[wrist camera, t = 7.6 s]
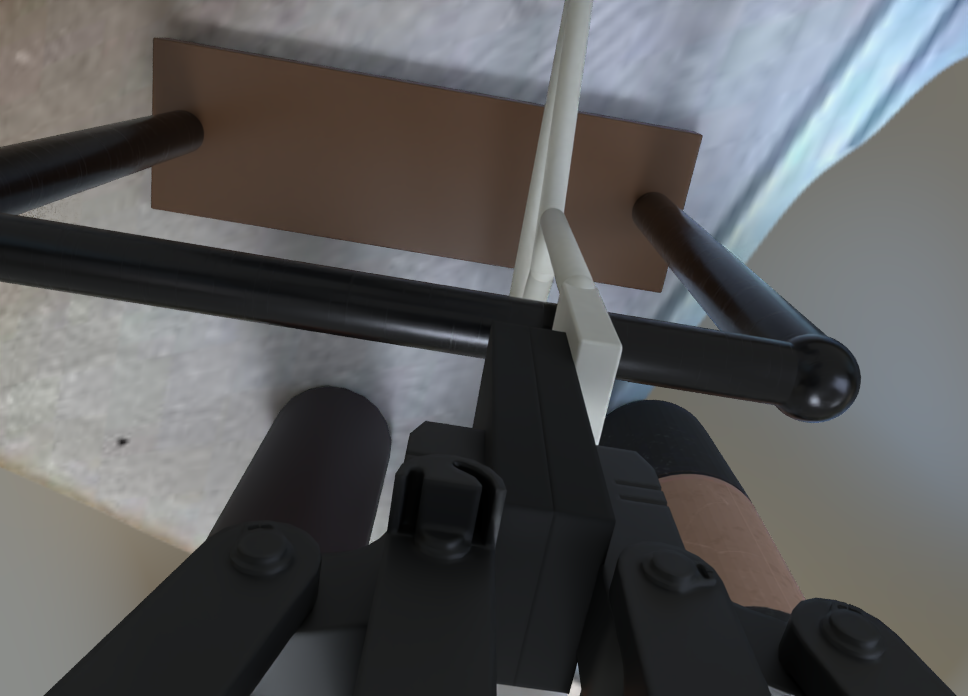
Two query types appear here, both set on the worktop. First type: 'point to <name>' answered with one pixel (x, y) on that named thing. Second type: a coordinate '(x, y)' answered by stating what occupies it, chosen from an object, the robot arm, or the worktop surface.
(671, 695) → the robot arm
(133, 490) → the worktop surface
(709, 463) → the travel mug
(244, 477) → the bottle
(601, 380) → the hanger
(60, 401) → the worktop surface
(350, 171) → the rail
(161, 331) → the worktop surface
